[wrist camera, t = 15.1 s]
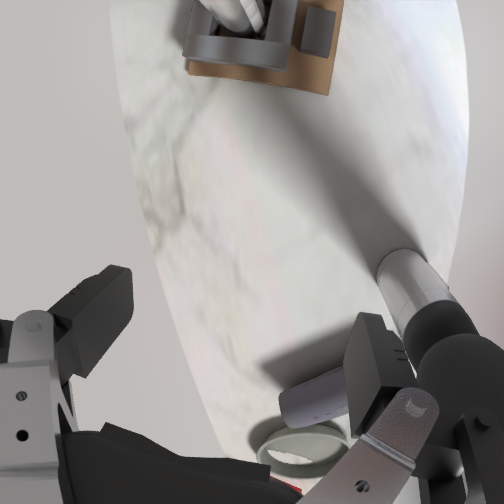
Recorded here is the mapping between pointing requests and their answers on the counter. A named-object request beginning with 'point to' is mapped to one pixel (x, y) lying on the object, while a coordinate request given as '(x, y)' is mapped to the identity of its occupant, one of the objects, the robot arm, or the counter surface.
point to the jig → (270, 46)
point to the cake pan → (304, 450)
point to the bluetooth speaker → (315, 400)
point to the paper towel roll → (239, 17)
